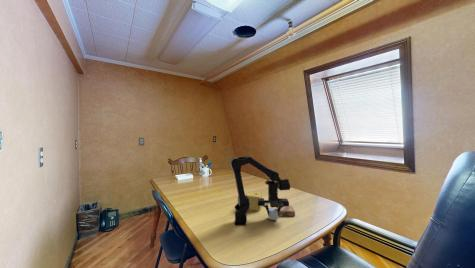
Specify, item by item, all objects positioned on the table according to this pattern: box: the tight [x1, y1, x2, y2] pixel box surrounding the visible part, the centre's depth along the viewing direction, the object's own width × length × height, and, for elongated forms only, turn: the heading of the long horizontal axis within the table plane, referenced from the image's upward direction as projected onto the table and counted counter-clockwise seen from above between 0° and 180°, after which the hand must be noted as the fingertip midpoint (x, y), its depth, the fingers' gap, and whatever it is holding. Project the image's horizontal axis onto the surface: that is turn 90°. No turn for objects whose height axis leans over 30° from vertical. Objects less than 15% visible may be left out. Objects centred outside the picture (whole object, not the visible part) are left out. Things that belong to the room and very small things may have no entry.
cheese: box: [245, 191, 263, 212], centre depth 137 cm, size 10×11×10 cm
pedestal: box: [279, 205, 296, 217], centre depth 128 cm, size 9×9×3 cm
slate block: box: [268, 207, 279, 221], centre depth 119 cm, size 5×5×5 cm
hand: (273, 215), depth 119 cm, fingers closed on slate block, 5 cm apart
